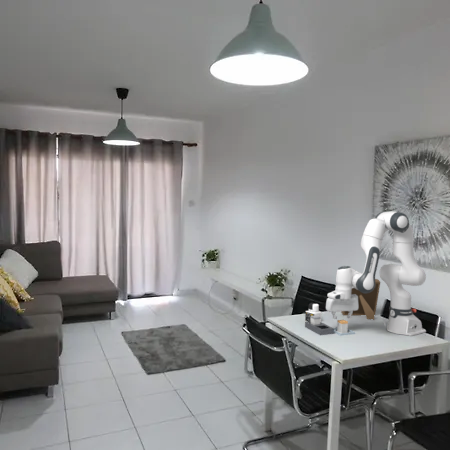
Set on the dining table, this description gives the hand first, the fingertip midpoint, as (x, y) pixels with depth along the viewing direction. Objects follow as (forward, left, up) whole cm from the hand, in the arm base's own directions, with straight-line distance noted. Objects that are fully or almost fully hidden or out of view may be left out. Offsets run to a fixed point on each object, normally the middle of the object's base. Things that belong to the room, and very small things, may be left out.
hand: (341, 318), depth 239 cm
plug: (-1, 0, -8) cm, 8 cm away
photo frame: (-35, -26, -9) cm, 44 cm away
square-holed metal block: (+10, -7, -9) cm, 15 cm away
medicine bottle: (+3, -24, -9) cm, 26 cm away
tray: (-1, 0, -9) cm, 9 cm away
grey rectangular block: (+10, -11, -8) cm, 17 cm away
